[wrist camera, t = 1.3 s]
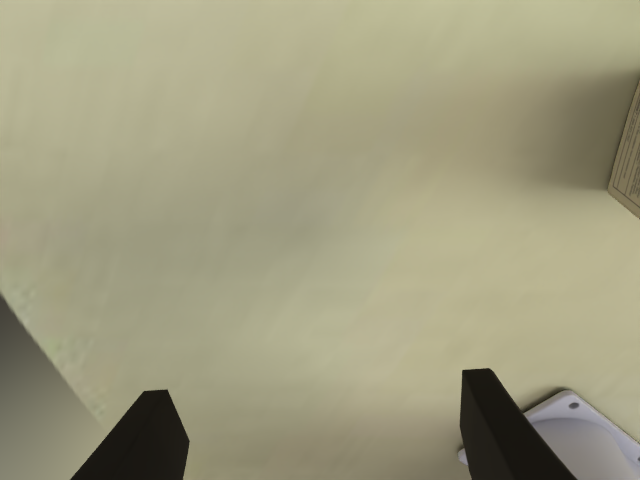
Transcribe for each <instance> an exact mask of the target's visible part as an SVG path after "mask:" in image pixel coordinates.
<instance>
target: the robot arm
mask: <svg viewBox="0 0 640 480" xmlns="http://www.w3.org/2000/svg"><path fill="white" fill-rule="evenodd" d="M460 430H461V434H462V439H463V444H464V448H463V449H461V450H460V451H459V452H458V458H459V461H460V462H462V463H463V464H465V465H467V466H468V467H469V471H470V474H471V478H472V480H640V444H639V443H638V442H636V441H635V440H634V439H633V438H631V437H630V436H629V435H628V434H626V433H625V432H624V431H623V430H621V429H620V428H619V427H617V426H616V425H615V424H614V423H612V422H611V421H610V420H609V419H607V418H606V417H605V416H603V415H602V414H601V413H600V412H598V411H597V410H596V409H595V408H593V407H592V406H591V405H590V404H588V403H587V402H586V401H584V400H583V399H582V398H581V397H579V396H578V395H577V394H576V393H574V392H573V391H570V390H564V391H561V392H559V393H558V394H556V395H554V396H552V397H551V398H549V399H547V400H546V401H544V402H542V403H540V404H539V405H537V406H535V407H534V408H532V409H530V410H528V411H527V412H525V413H522V411H521V410H520V409H519V407H518V406H517V405H516V403H515V402H514V401H513V399H512V398H511V396H510V395H509V394H508V392H507V391H506V389H505V388H504V387H503V385H502V384H501V382H500V381H499V379H498V378H497V376H496V375H495V373H494V372H493V371H492V370H491V369H489V368H486V369H471V370H463V371H462V391H461V412H460ZM189 442H190V441H189V438H188V436H187V434H186V432H185V429H184V427H183V425H182V422H181V420H180V418H179V415H178V413H177V411H176V408H175V406H174V404H173V401H172V399H171V397H170V394H169V392H168V390H153V391H144V392H143V393H142V394H141V395H140V396H139V398H138V399H137V400H136V401H135V402H134V404H133V405H132V406H131V407H130V408H129V410H128V411H127V412H126V413H125V415H124V416H123V417H122V418H121V419H120V421H119V422H118V423H117V424H116V426H115V427H114V428H113V429H112V431H111V432H110V433H109V434H108V435H107V437H106V438H105V439H104V440H103V441H102V443H101V444H100V445H99V446H98V448H97V449H96V450H95V451H94V452H93V453H92V455H91V456H90V457H89V458H88V459H87V461H86V462H85V463H84V464H83V465H82V466H81V468H80V469H79V470H78V471H77V472H76V473H75V475H74V476H73V477H72V478H71V480H183V476H184V471H185V466H186V460H187V454H188V448H189Z"/></svg>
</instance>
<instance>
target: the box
mask: <svg viewBox="0 0 640 480" xmlns="http://www.w3.org/2000/svg"><path fill="white" fill-rule="evenodd" d="M607 191H608V193H609V194H610V195H611V196H612V197H613V198H615V199H616V200H617V201H618V202H619V203H621V204H622V205H623V206H624V207H625V208H627V209H628V210H629V211H630V212H631V213H633V214H634V215H635V216H636V217H638V218H639V219H640V80H639V84H638V87H637V89H636V92H635V95H634V98H633V101H632V104H631V107H630V110H629V114H628V117H627V120H626V124H625V128H624V132H623V135H622V139H621V142H620V145H619V149H618V152H617V155H616V159H615V163H614V166H613V171H612V175H611V179H610V182H609V186H608V190H607Z"/></svg>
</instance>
